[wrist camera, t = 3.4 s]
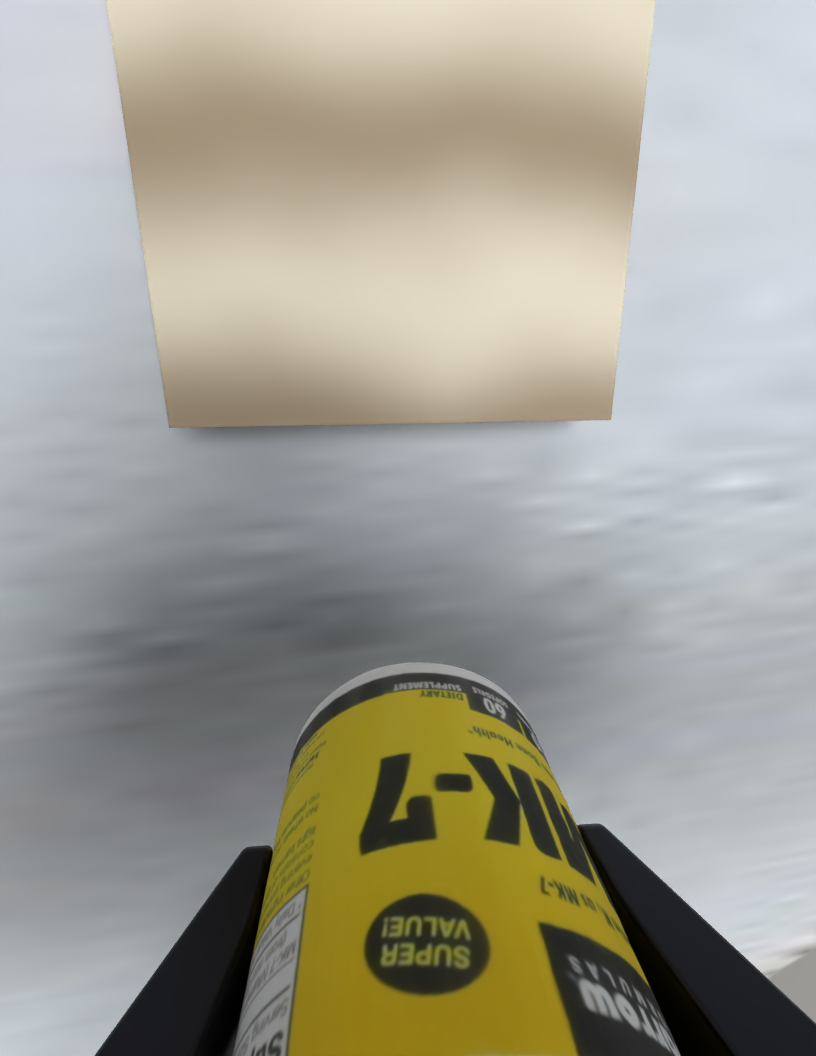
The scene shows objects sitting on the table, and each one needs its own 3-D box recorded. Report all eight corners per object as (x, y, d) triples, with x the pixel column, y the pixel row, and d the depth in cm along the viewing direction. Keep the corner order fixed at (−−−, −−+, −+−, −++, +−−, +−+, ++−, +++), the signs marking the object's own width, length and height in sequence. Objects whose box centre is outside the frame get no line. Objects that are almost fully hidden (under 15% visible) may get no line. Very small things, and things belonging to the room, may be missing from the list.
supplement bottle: (572, 694, 10) (1370, 1958, 2) (474, 869, 11) (742, 2102, 3) (338, 619, 9) (177, 2310, 1) (259, 819, 10) (-90, 2335, 2)
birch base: (576, 412, 17) (610, 420, 14) (199, 418, 16) (169, 427, 14) (618, -69, 13) (672, -165, 11) (133, -90, 12) (77, -197, 10)
